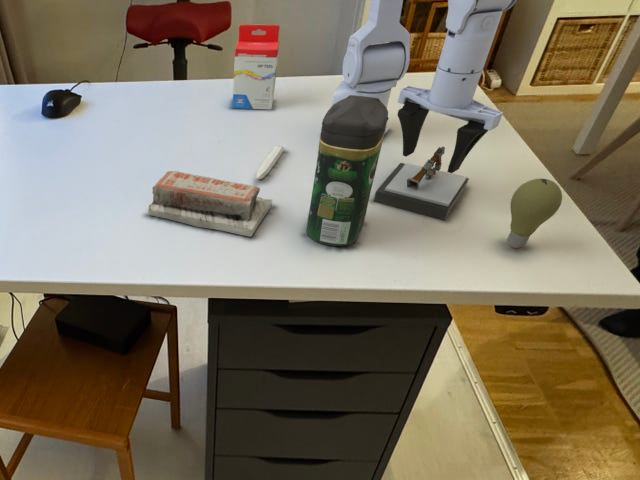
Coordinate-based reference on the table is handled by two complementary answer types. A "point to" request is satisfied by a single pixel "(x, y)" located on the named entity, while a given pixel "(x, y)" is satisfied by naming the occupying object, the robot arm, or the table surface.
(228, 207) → the packaged product
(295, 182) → the table surface
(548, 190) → the light bulb
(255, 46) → the ink box
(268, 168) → the pen
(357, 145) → the coffee jar
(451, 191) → the scale
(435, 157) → the wooden post with brackets
